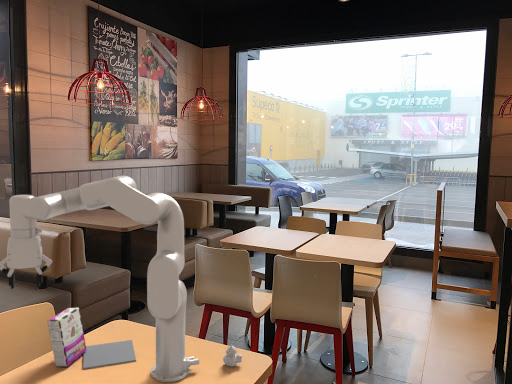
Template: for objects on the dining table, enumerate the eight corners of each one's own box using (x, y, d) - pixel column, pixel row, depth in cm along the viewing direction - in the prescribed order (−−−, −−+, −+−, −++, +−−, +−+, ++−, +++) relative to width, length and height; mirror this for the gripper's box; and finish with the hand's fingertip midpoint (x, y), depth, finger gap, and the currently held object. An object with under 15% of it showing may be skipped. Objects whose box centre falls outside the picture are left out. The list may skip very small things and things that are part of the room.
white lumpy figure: (224, 360, 150) (224, 339, 149) (242, 361, 150) (243, 339, 149) (222, 368, 145) (222, 346, 144) (241, 369, 144) (242, 347, 144)
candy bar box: (74, 351, 154) (67, 307, 153) (87, 351, 153) (80, 307, 152) (54, 367, 143) (46, 320, 142) (67, 367, 142) (59, 319, 141)
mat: (132, 341, 163) (131, 339, 163) (136, 361, 148) (136, 359, 148) (84, 347, 157) (83, 346, 157) (83, 369, 142) (83, 368, 142)
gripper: (54, 229, 145) (56, 280, 147) (-5, 232, 139) (-2, 285, 141) (52, 234, 138) (54, 287, 140) (-10, 237, 132) (-7, 292, 134)
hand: (26, 285), depth 140 cm, fingers open, 6 cm apart
